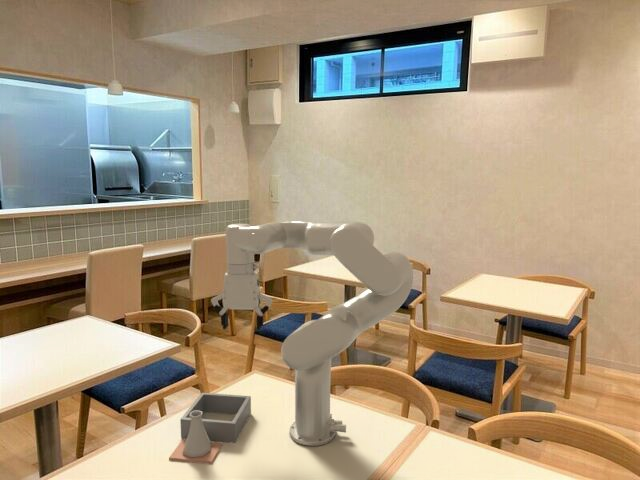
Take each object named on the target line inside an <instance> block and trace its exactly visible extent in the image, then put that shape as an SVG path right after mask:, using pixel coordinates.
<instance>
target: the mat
mask: <svg viewBox="0 0 640 480" xmlns="http://www.w3.org/2000/svg"><path fill="white" fill-rule="evenodd" d="M186 440H187V439H184V438H181V441H180V442H179V443H178V445H177V446H176V448H175V449H174V450H173V452H171V454H170V456H169V457H168V459H169V460H168V461H176V460H177V461H178V462H188V463H199V464H208V465H210V464H211V465H212V464H213V462H214V461H215V459H216V457H217V455H218V454H219V452H220V450H221V449H222V447H223V445H224V444H223V443H224V442H218V441H211V443H212V446H211V451H209V452H208V453H207V454H205V455H204V456H203V457H189V456H186V455H184V454H182V453H183V450H184V446H185V443H186Z"/></svg>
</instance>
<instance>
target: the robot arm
mask: <svg viewBox="0 0 640 480" xmlns="http://www.w3.org/2000/svg"><path fill="white" fill-rule="evenodd" d="M374 234H375V233H374V231H373V230H372V228H371V227H370V226H369V225H368V224H366V223H364V222H360V221H275V222H268V223H264V224H259V225H255V226H252V225H251V224H249V223H232V224H229V225H227V226H226V228H225V249H226V250H225V251H226V254H225V255H226V272H225V273H224V278H223V285H222V293H220V294H218V295H216V296H214V297H212V298H211V299H210V302H211V304H212V306H213V308H214V310H216V312H218V314H219V315H220V325H221V326H222V330H226V329H227V328H228V327H229V313H228V312H227V311H228V310H241V311H242V310H246V311H247V310H249V311H250V310H254V311H255V313H256V314H257V315H256V330H257V331H260V330H261V328H262V327H264V314H266V312H267V311H268V310H269V308H270V307H271V306H272V303H273V301H274V300H273V299H272V298H271V297H269V296H267V295H265V294H263V293H261V285H260V277H259V273H258V272H257V270H260V267H261V266H260V264H256V262H255V255H256V254H257V255H263V254H267V253H270V252H272V251H275V250H278V249H301V250H306V251H307V252H308V254H309V255H312V256H334V257H335V258H336V260H337V261H338V262H339V263H340V264H341V265H342V266H343V267H344V268H345V269H346V270H347V271H349V272H350V274H351V275H353V277H355V278H356V279H357V280H358V281H359V282H360V283H361V284H362V285H363V286H365V287H366V289H365V290H363V291H362V292H361V293H359V294H357V295H356V296H354V297H352V298H350V299H348V300H346V301H344V302H343V303H341V304H339V305H337V306H334V307H332V308H331V309H329V310H328V311H327V312H326V313H325V314H323V315H322V316H320V317H319V318H318V319H312V320H308V321H306V322H305V323H303V324H302V325H300V326H298V327H297V329H295V330H294V331H293V332H292V333H290V334H289V335H288V336H287V337H286V338H285V339H284V341H282V345H281V350H280V353H281V358H282V361H283V362H284V363H285V365H286V366H287V367H289V368H290V369H291V370H295V373H294V375H295V379H294V388H295V389H294V394H295V395H294V400H295V401H294V405H295V406H294V407H295V408H294V410H295V411H294V419H295V420H294V422H293V423H292V424H291V425H290V427H289V437H290V438H291V440H293V441H294V442H296V443H297V444H300V445H304V446H307V447H308V446H309V447H316V446H323V445H326V444H327V443H329V442H331V441H332V440H333V439H334V438H335V436H336V432H339V433H346V432H347V424H343V420H339V419H338V420H337V419H335V418H334V419H333V413H331V381H332V379H331V378H332V377H331V375H332V359H333V357H335V356H338V355H339V354H341V353H343V351H345V350H346V349H348V348H349V347H350V346H351V345H352V343H353V342H354V341H355V340H356V339H357V338H358V336H359V335H361V334H362V333H363V332H365V331H366V330H369V329H370V328H372V327H374V326H376V325H377V324H379V323H380V322H382V321H384V320H385V319H387V318H388V317H390V316H391V315H393V314H394V313H395V312H397V311H398V310H399V309H400V307H402V305H403V304H404V303H405V302H406V300H407V299H408V297H409V295H410V293H411V290H412V286H413V281H414V270H413V265H412V263H411V261H410V259H409V258H408V257H407V256H406V255H405V254H403V253H401V252H389V253H385V254H383V253H382V252H381V251H380V250H378V248H376V247H375V245H374V243H375V235H374ZM221 300H222V305H220V303H219V302H218V301H221ZM262 301H263V302H265V305H264V306H263V307H262V306H261V303H262Z"/></svg>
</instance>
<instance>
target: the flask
mask: <svg viewBox="0 0 640 480" xmlns="http://www.w3.org/2000/svg"><path fill="white" fill-rule="evenodd" d="M203 414H204V413H203V412H202V411H199V410H196V411H192V412H191V413H190V415H189V416H190V418H191V425H190V431H189V434H188V437H187V439H186V443H185V446H184V450H183V453H182V454H184V455H186V456H189V457H203V456H204V455H205V454H207V453H208V452H209V451H211V446H212V443H211V442H212V441H210V439H209V437H208V435H207V433H206V431H205V428H204V426H203V422H202V419H203V418H202V416H203Z"/></svg>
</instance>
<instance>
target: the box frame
mask: <svg viewBox="0 0 640 480" xmlns="http://www.w3.org/2000/svg"><path fill="white" fill-rule="evenodd" d="M196 410H199V411H202V412H203V414H204V413H213V414H214V413H216V414H227V415H228V414H229V415H235V416H234V418H233V420H232V421H231V420H221V419H210V418H209V419H207V418H202V422H203V426H204V428H205V431H206V433H207V435H208V437H209V439H210V441H211V442H220V443H231V444H235V443H237V440H238V439H239V438H240V435H241V434H242V431H243V430H244V428H245V426H246V423H247V422H248V420H249V418H250V416H251V414H252V397H251V395H241V394H226V393H212V392H201V393H200V394H199V396H197V398H196V399H195V400H194V402H193V403H192V404H191V405H190V407H188V409H187V411H186V412H185V413H184V414H183V415H182V416H181V417H180V418H179V419H180V420H179V421H180V438H181V439H186V440H187V437H188V434H189V431H190V425H191V418H190V416H189V415H190V413H191V412H192V411H196Z"/></svg>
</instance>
